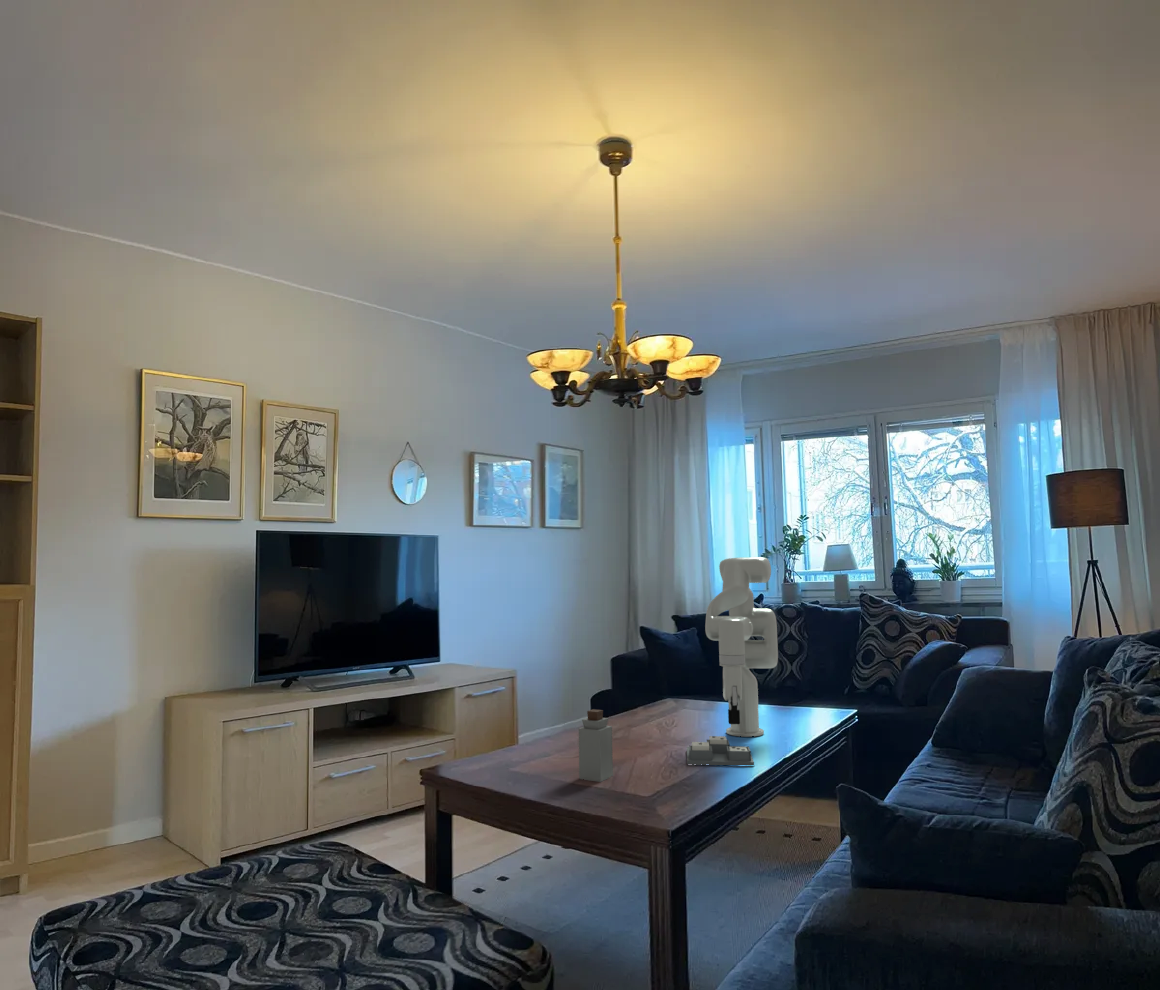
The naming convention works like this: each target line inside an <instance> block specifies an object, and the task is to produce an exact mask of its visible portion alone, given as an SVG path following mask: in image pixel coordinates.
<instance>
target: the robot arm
mask: <svg viewBox="0 0 1160 990" xmlns="http://www.w3.org/2000/svg"><path fill="white" fill-rule="evenodd" d="M718 567H719V574H720V577H721V580H722V588H721V590H722V591H721V592H720V593H718V594H717V595H716V596H715V597H714V598H713V599H712V600H711V601H710V602H709V604H708V606H707V609H706V613H705V614H706V615H705V625H704V627H705V630H704V631H705V635H706V638H708V639H709V640H711V641H716V642H717V641H718V652H719V653H718V654H719V655H718V657H719V661H718V662H719V666H721V667H722V692H723V693H722V696H723V699H724V700H725V701H727V702H728V709H727V712H728V713H727V715H728V716H727V717H728V724H729V725H730V727H727V728H726V729H725V733H726V734H727V735H729V736H733V737H740V736H741V737H745V738H748V737H749V738H753V737H752V736H754V737H760V736H762V735H764V734H765V733H764V731H765V730H764V729H763V728H760V721H759V719H760V718H759V717H760V716H759V696H758V695H759V691H758V690H759V688H758V680H757V678H756V676H755V675H754V674H753V672H752V671H751V670H750V669H774V668H776V667H777V665H778V661H779V649H778V647H779V645H778V628H777V627H778V624H777V623H778V622H777V617H776V614H775V612H774V610H772V609H770V608H766V607H765V608H762V607H761V608H760V607H759V608H756V607H755V605H754V604H755V603H754V601H755V600H754V596H755V595H754V593H753V591H752V590H751V588H750V583H751V584H759V583H760V584H762V583H763V584H765V583H768V582H769V580H770V579H771V575H772V567H771V563H770V561H769V559H768V558H766V557H758V556H756V557H755V556H754V557H751V556H750V557H744V556H743V557H732V558H731V557H730V558H725V559H723V560H721V561H720V563H719V565H718ZM727 611H728V614H729V615H720V614H723V613H724V612H727ZM751 637H762V638H763V639H764V640H763V639H756V640H755V639H754V640H753V639H750V638H751Z"/></svg>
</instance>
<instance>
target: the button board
mask: <svg viewBox="0 0 1160 990" xmlns="http://www.w3.org/2000/svg"><path fill="white" fill-rule="evenodd" d="M706 742H709V739H706ZM729 747H746V748H747V750H748V751H729ZM687 764H692V765H691V766H695V765H694V764H696V765H701V764H702V765H706V764H709V765H754V766H755V761H754V759H753V755H752V751H751V748H750V746H745V745H743V746H741V745H730V741H729V739H727V744H710V743H709V750H692V745H688V746H687V747H686V765H687Z"/></svg>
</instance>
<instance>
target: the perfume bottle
mask: <svg viewBox="0 0 1160 990" xmlns="http://www.w3.org/2000/svg"><path fill="white" fill-rule="evenodd" d="M586 713H587V714H586V715H587V717H585V718H583V719H581V721H582V725H583V726H582V727H578V778H579V780H583V779H584V781H590V782H591V781H593V782H598V783H602V782H604V781H606V780H608V779H610V778H612V777H613V776H614V775H613V774H614V770H613V768H614V767H613V766H614V765H613V761H614V759H613V726H612V725H608V722H609V718H608V717H603V716H604V710H603V709H595V708H593V709H590V710H587V711H586ZM611 776H612V777H611ZM609 777H610V778H609Z"/></svg>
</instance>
